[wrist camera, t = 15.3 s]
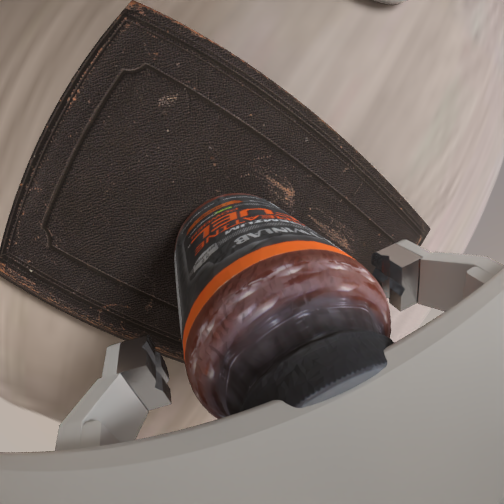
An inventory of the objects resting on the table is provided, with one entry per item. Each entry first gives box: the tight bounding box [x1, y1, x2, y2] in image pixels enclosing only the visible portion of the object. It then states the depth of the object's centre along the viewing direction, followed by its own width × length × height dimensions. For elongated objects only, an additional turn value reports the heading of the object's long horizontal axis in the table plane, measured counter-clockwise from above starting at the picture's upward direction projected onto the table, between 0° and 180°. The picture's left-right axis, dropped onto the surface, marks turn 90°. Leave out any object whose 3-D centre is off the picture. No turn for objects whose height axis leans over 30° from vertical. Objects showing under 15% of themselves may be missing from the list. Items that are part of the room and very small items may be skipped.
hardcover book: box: [0, 0, 430, 363], centre depth 16 cm, size 16×23×2 cm
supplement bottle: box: [174, 193, 394, 419], centre depth 10 cm, size 6×6×11 cm
